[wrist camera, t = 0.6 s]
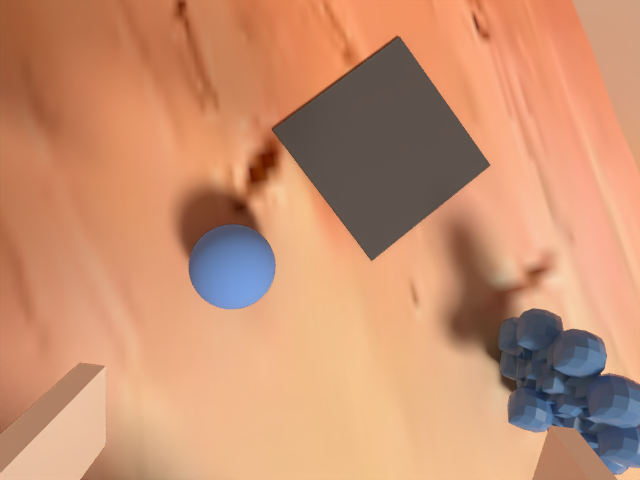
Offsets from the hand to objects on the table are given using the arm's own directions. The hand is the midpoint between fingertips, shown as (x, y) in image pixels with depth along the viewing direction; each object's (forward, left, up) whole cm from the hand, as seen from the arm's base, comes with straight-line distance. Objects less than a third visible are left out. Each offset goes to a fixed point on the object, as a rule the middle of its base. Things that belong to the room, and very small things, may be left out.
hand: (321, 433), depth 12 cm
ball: (0, +5, -15) cm, 16 cm away
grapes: (+11, -14, -18) cm, 25 cm away
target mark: (+14, +5, -18) cm, 23 cm away
